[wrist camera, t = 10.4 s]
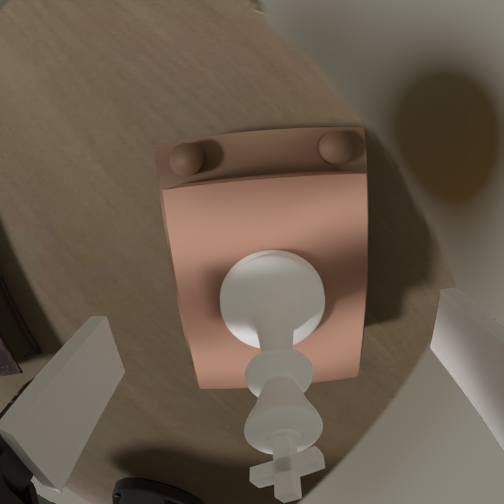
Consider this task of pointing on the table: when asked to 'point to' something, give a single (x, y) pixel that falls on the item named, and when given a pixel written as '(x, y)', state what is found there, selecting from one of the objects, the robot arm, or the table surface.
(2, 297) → the diary
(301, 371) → the chess piece
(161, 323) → the table surface
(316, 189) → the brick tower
